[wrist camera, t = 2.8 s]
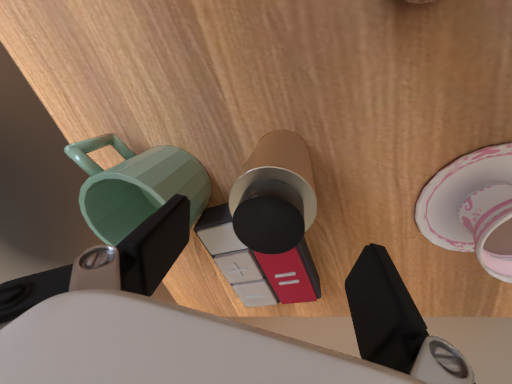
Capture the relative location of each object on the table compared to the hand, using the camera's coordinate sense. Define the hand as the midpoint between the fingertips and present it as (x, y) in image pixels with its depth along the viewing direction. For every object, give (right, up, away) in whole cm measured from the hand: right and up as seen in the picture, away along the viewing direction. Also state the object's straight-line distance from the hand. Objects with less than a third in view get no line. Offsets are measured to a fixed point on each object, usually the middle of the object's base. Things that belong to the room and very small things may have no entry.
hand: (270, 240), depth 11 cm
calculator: (0, -5, +17) cm, 18 cm away
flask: (+2, +6, +11) cm, 13 cm away
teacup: (+22, +2, +10) cm, 24 cm away
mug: (-12, +5, +14) cm, 19 cm away
